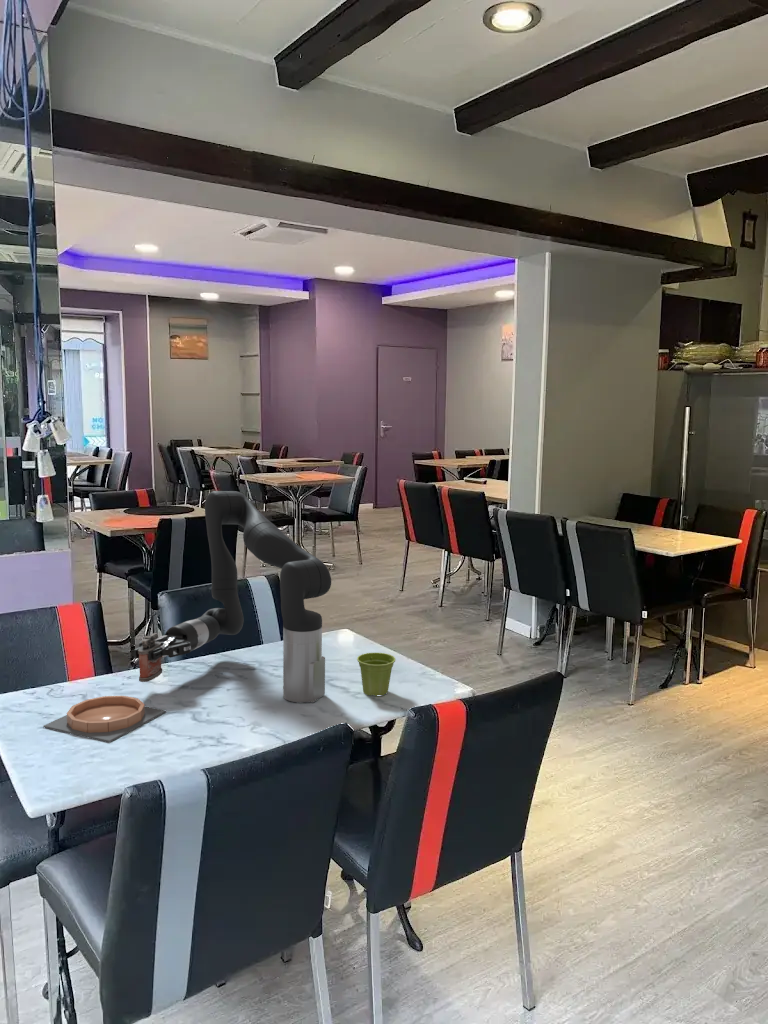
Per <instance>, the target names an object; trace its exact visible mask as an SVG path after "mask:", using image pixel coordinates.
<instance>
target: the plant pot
mask: <svg viewBox="0 0 768 1024" xmlns="http://www.w3.org/2000/svg"><path fill="white" fill-rule="evenodd" d="M356 660H357V662H358V666H359V667H360V674H361V675H360V676H361V684H362V692H363V694H365V695H366V694H367V695H366V696H369V695H370V696H374V695H375V697H378V696H377V695H383V696H385V695H384V694H386V693H387V694H388V692H389V687H390V681H391V674H392V669H393V667H394V664H395V662H396V661H397V660H396V657H395V656H394V655H392V654H389V653H385V652H366V653H362V654H360V655H358V657H357V658H356ZM387 694H386V695H387Z"/></svg>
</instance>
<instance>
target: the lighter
mask: <svg viewBox="0 0 768 1024" xmlns="http://www.w3.org/2000/svg"><path fill="white" fill-rule="evenodd" d="M157 638H159V634H158V633H157V632H153V633H152V634H150V635H145V636H144V637H143V639H144V640H143V639H141V641H142V647H141V648H140V649H139V650H138V654H139V658H138V659H139V660H138V662H139V663H138V665H139V677H138V682H141V683H148V682H151V681H152V680H154V679H156V678H158V677H159V676H161V674H162V673H163V668H162V657H159V658H157V659H155V660H152V661H150V660H148V652H149V651H151V650H154V649H156V648H160V647H161V642H155V640H156V639H157Z"/></svg>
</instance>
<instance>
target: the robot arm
mask: <svg viewBox="0 0 768 1024" xmlns="http://www.w3.org/2000/svg"><path fill="white" fill-rule="evenodd" d="M204 503H205V504H204V516H205V524H206V532H207V533H206V534H207V540H208V545H209V546H208V547H209V554H210V562H211V564H210V565H211V597H212V599H213V600H216V601H218V602H221V603H222V604H223V607H224V608H222V607H221V608H220V607H215V608H210V609H208V610H207V611H205V612H204V613H203V614H202V615H201V616H199V617H196V618H194V619H190V620H186V621H183V622H180V623H179V624H176V625H174V626H173V625H172V626H171V627H169V628H168V629H167V631H166V632H165V634H164V635H160V636H158V638H157V639H156V640H155V642H161V647H160V648H156V649H154V650H151V651H149V652H148V660H150V661H152V660H155V659H157V658H159V657H161V658H166V657H168V658H175V657H178V656H183V655H186V654H189V653H191V652H192V651H194V650H196V649H198V648H200V647H202V646H203V645H205V644H207V643H210V642H211V641H213V640H215V639H216V638H217V637H218V636H219V635H229V636H234V635H237V634H239V633H240V631H242V629H243V625H244V622H245V621H244V613H243V609H242V606H241V605H242V604H241V602H240V598H239V594H238V568H237V564H236V562H235V559H234V558H233V556H232V554H231V552H230V550H229V548H228V547H227V545H226V543H225V541H224V537H223V536H224V535H223V528H222V527H223V525H237V526H240V527H242V528H243V534H242V539H243V543H244V545H245V547H246V548H247V550H248V551H249V552H250V553H252V555H254V557H255V558H256V559H258V560H259V561H261V562H262V563H265V564H267V565H270V566H273V567H276V568H279V569H281V570H280V575H279V576H280V577H279V588H280V589H279V590H280V591H279V593H280V609H281V617H282V621H283V622H282V623H283V628H282V629H283V631H282V633H283V634H282V637H283V638H282V640H283V643H282V646H283V647H282V649H283V651H282V655H283V657H282V658H283V659H282V662H283V663H282V664H283V665H282V670H283V671H282V673H283V674H282V677H283V678H282V680H283V681H282V683H283V684H282V688H283V689H282V693H283V694H282V695H283V699H285V700H286V701H289V702H292V703H293V702H294V703H315V702H316V701H319V699H321V698H323V696H325V695H326V657H325V656H323V618H322V617H323V616H322V615H321V614H320V613H319V612H317V611H313V610H309V609H306V608H305V600H309V599H314V598H319V597H322V596H324V595H326V594H327V593H328V592H329V590H330V589H331V586H332V577H331V573H330V571H329V568H328V566H327V565H326V564H325V563H324V562H323V561H322V560H321V559H320V558H319V557H316V556H315V555H313V554H312V553H310V552H308V551H306V550H305V549H303V548H302V546H300V545H299V544H297V543H296V542H295V541H294V540H292V539H291V538H290V537H288V536H287V535H286V534H285V533H284V532H283V531H282V530H281V529H280V528H279V527H278V526H276V525H275V524H274V523H273V522H271V521H270V520H269V519H268V518H267V517H265V516H264V514H262V513H261V512H260V511H259V510H258V509H257V508H256V506H255V505H254V504H253V502H251V499H249V498H248V497H247V496H246V495H245V494H244V493H242V492H241V491H235V490H229V491H228V490H214V491H211V492H210V493H208V494H207V496H206V498H205V502H204ZM142 640H144V638H143V639H142ZM142 640H140V642H138V647H137V648H134V650H133V659H139V654H138V650H139V649H140V648H141V647H142Z"/></svg>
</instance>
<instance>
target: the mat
mask: <svg viewBox="0 0 768 1024" xmlns="http://www.w3.org/2000/svg"><path fill="white" fill-rule="evenodd" d="M165 713H167V710H165V709H161V708H156V707H151V706H146V705H145V714H144V716H143V718H142V720H141V721H139V722H137V723H135V724H134V725H132V726H130V727H128V728H123V729H119V730H115V731H110V732H92V733H87V732H83V731H78V730H74V729H72V728H71V727H70V726H69V725H68V723H67V714H65V715H63V716H62V717H60V718H57V719H55V720H53V721H51V722H48V723H46V724H44V725H43V728H44V727H45V728H44V729H48V728H50V729H49V730H52V729H54V730H53V731H57V730H58V731H57V732H61V731H62V732H61V733H65V732H66V733H67V734H70V733H71V734H72V735H75V736H80V737H84V738H87V737H89V738H88V739H92V738H93V739H92V740H96V739H97V740H98V741H102V742H105V741H106V742H105V743H109V742H110V743H112V742H113V741H115V740H118V739H119V738H121V737H123V736H124V735H127V734H128V733H130V732H133V731H134V730H135V729H138V728H140V727H141V726H143V725H145V724H147V723H149V722H151V721H153V720H154V719H156V718H158V717H160V716H162V715H164V714H165ZM71 734H70V735H71ZM111 741H112V742H111Z"/></svg>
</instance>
